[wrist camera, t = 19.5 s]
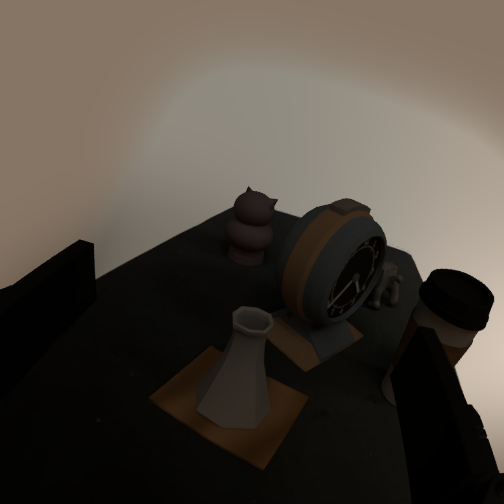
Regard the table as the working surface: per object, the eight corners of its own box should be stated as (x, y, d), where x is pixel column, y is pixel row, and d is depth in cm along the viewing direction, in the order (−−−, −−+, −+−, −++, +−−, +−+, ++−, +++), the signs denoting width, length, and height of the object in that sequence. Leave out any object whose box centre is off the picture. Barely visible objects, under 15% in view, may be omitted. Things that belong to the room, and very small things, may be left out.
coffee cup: (442, 409, 29) (510, 305, 23) (391, 425, 27) (468, 308, 20) (409, 364, 36) (461, 265, 30) (359, 372, 34) (413, 260, 28)
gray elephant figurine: (399, 304, 51) (416, 265, 48) (371, 328, 43) (391, 283, 40) (358, 280, 57) (372, 242, 53) (323, 297, 49) (337, 253, 45)
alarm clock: (299, 375, 32) (355, 222, 25) (244, 326, 39) (275, 185, 31) (366, 334, 41) (414, 215, 34) (317, 299, 48) (351, 188, 40)
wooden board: (148, 399, 26) (148, 397, 25) (210, 348, 34) (210, 345, 34) (262, 470, 21) (264, 469, 21) (308, 398, 29) (309, 396, 29)
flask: (276, 385, 30) (304, 306, 26) (262, 441, 24) (295, 363, 19) (208, 364, 31) (221, 282, 27) (182, 415, 24) (188, 332, 20)
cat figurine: (213, 249, 57) (223, 184, 52) (246, 244, 62) (258, 184, 57) (241, 272, 51) (256, 201, 46) (276, 264, 56) (292, 199, 51)
